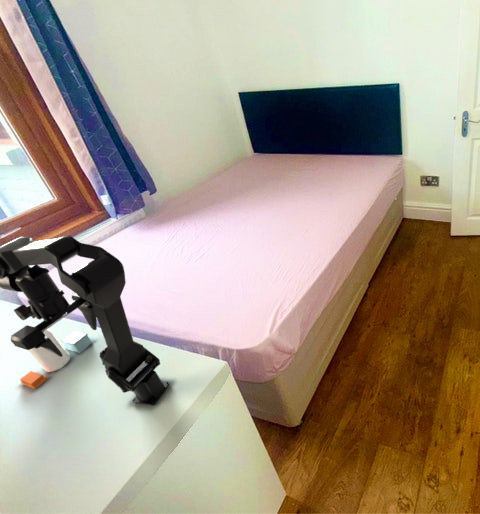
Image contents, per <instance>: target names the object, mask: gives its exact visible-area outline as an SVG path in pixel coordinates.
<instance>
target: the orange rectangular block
mask: <svg viewBox="0 0 480 514" xmlns="http://www.w3.org/2000/svg"><path fill="white" fill-rule="evenodd" d="M47 380H48V379H47V377H46V376H44V375H43V374H41V373H39V372H35V371H32V370H31V371H29V372H28V373H26V374H25V375H24V376H23V377H21V378H19V381H20V383H21V384H22V385H23V386H26V387H29V388H31V389H34V390H36V389H37V388H39V387H40V386H41V385H43V383H45V382H46V381H47Z"/></svg>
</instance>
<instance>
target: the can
mask: <svg viewBox="0 0 480 514" xmlns="http://www.w3.org/2000/svg"><path fill="white" fill-rule="evenodd" d="M43 333H44V334H45V337H47V338H50V339H51V341H52V342H53V343H54V344H55V345H56V347H57V348H58V349H59V350H60V351H61V353H62V355H63V356H62V357H60V356H58V355H56V354H54V353H52V352H50V351H49V350H47V349H45V348H43V347H39V348H37V349H36V348H32V349H30V350H28V352H29V353H30V354H31V356H32V357H33V358H34V359H35V361H37V363H38V364H39V366H41V368H42V369H43V370H44V371H45V372H47V373H53V372H56V371H59V370H61V369H62V368H63V367H65V366H66V365H67V364H68V362H69V361H70V357H71V356H70V354H69V353H68V352H67V351H66V349H65V347H64V346H63V345H62V344H61V343H60V341H59V339H58V338H57V337H56V335H54V333H53V332H52V331H51V330H50V328H48V329H47V330H45V331H44V332H43Z"/></svg>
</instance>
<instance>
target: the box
mask: <svg viewBox="0 0 480 514" xmlns="http://www.w3.org/2000/svg"><path fill="white" fill-rule="evenodd" d="M60 342H61V343H62V344H63V345H64V346H65V348H66V349H67V350H68V351H72V352H75V353H78V354H80V353H82V352H83V351H85V350H86V349H87V348H88V347H89V346H90V345H92V344H93V342H92V340H91V339H90V337H89V336H88V333H85V332H81V331H77V330H73V331H72V332H71V333H70V334H68V335H67V336H65V337H64V338H63V339H61V340H60Z"/></svg>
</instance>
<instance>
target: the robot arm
mask: <svg viewBox="0 0 480 514" xmlns="http://www.w3.org/2000/svg"><path fill="white" fill-rule="evenodd" d="M75 256H78V257H80V258H85V259H90V260H91V261H89V262H88V263H86V264H85V265H83V266H80V267H79V268H78V269H77V270H75V271H73V272H72V273H71V274H70V273H68V271H67V272H66V270H64V268H63V265H62V264H63V263H65V262H66V261H68V260H70V259H71V258H73V257H75ZM40 265H52V266H53V267H55V268H56V270H57V274H58V276H59V280H60V283H61V284H62V285H63V286H65V287H66V288H68V289H69V290H71V292H73V293H74V294H71V299H72V301H71V302H68V300H67V299H66V297H65V292H64V290H63V289H60V288H59V287H58V286H57V284H56V283H55V281H54V280H53V279H52V277H51V276H50V274H49V273H50V270H49V269H48V268H46V267H44V266H40ZM125 286H126V273H125V267H124V265H123V263H122V262H121V260H119V259H118V258H117V257H116V256H114V255H113V254H111V253H110V252H109V251H107V250H106V249H104V248H103V247H101V246H99V245H94V244H90V243H89V244H88V243H83V242H80V241H79V240H77V239H75V237H74V236H73V237H72V236H70V235H66V236H61V237H58V238H51V239H43V240H38V241H37V240H36V241H34V239H33V237H26V236H20V237H18V238H15V239H13V240H11V241H9V242H7V243H5V244H2V245H1V246H0V288H1V289H3V290H5V291H6V290H7V291H12V292H18V293H23V294H24V296H25V297H26V298H27V300H26V301H27V303H28V304H29V305H25V304H21V305H20V306H18V307H16V308H14V309H13V312H14V313H15V314H16V316H17V317H18V318H19V319H20V320H22V321H26V320H27V319H29V318H32V319H36V320H42V321H41V322H40V323H38V324H36V325H35V326H32V325H29V324H28V325H27V324H26V325H25V326H23V327H22V328H20V329H19V330H18V331H16V332H14V333H13V334H11V336H10V342H11V343H12V344H13V346H14V347H17V348H20V349H23V350H26V351H29V350H30V349H32V348H36V349H37V348H39V347H43V348H45V349H47V350H49V351H50V352H52V353H54V354H56V355H58V356H60V357H62V356H63V355H62V353H61V351H60V350H59V349H58V348H57V347H56V345H55V344H54V343H53V342H52V341H51V339H50V338H47V337H45V334H44V333H43V332H44V331H45V330H47V329H50V328H51V327H53V326H55V324H57V323H58V322H60V321H61V320H62V319H64V318H65V317H67V316H68V315H70V314H72V312H75V310H77V309H78V310H79V311H80V312H81V314H82V315H83V317H84V319H85V320H86V323H87V324H88V325H89V327H90V328H91V329H92V330H93V331H96V330H97V327H98V325H97V323H98V324H99V327H100V331H101V333H102V335H103V339H104V341H105V344H106V347H105V348H104V349H102V350H101V351H100V352H99V358H100V360H101V362H102V364H101V365H102V366H104V372H105V375H106V376H107V378H108V379H109V380H110V381H111V382H113V384H115V386H117V387H118V388H119V389H120V390H121V392H122V393H124V394H125V393H128V392H131V393H134V395H135V396H134V397H133V399H132V400H131V402H132V403H133V404H139V405H146V406H155V405H156V403H157V402H158V401H159V400H160V398H161V397H162V395H163V394H164V393H165V391H166V390H167V389H168V387H169V386H170V381H165V380H162V379H161V378H160V376H159V375H158V373H157V371H156V369H157V368H158V367H159V366H160V365H161V361H160V358H159V357H157V356H156V355H155V354H154V353H152V352H151V351H150V350H148V349H147V348H146V347H144V345H143V344H141V343H139V342H137V341H135V340H134V338H133V335H132V331H131V328H130V325H129V321H128V317H127V315H126V310H125V307H124V305H123V300H122V297H121V295H122V293H123V292H124V289H125Z"/></svg>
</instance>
